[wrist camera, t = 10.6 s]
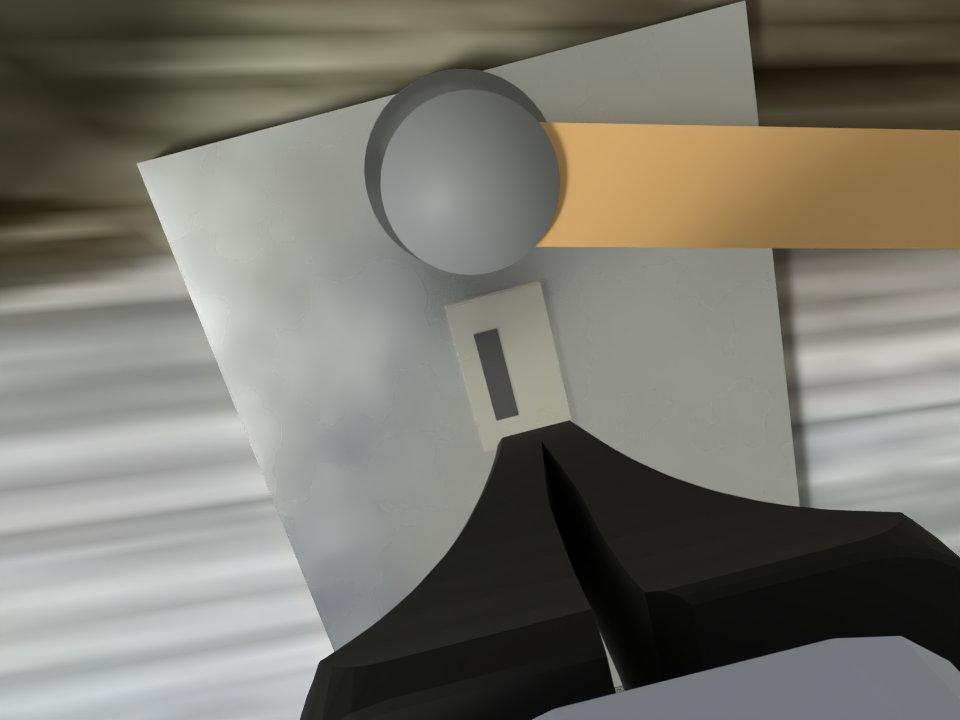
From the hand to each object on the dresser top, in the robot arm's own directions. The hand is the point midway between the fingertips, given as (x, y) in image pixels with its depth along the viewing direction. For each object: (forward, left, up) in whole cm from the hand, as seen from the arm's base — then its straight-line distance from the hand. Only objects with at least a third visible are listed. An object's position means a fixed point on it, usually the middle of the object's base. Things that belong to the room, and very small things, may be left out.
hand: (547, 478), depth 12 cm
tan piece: (+3, -6, -5) cm, 9 cm away
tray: (-2, 0, -6) cm, 7 cm away
